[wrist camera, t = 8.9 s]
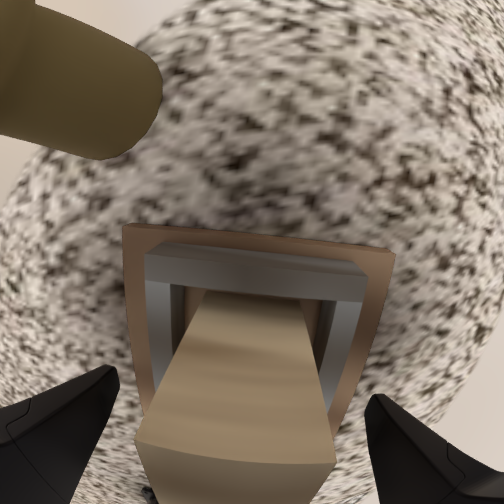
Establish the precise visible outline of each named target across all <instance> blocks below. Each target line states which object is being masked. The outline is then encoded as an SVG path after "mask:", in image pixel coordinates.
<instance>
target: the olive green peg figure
mask: <svg viewBox="0 0 504 504" xmlns="http://www.w3.org/2000/svg"><path fill="white" fill-rule="evenodd" d="M161 99H162V77H161V74H160V71H159V69H158V66H157V64H156V63H155V62H154V61H153V60H152V59H151V58H150V57H149V56H148V55H147V54H145V53H143V52H142V51H140V50H138V49H136V48H134V47H132V46H131V45H129V44H127V43H125V42H123V41H121V40H119V39H117V38H115V37H113V36H111V35H109V34H107V33H105V32H103V31H101V30H99V29H96V28H94V27H92V26H90V25H88V24H85V23H83V22H81V21H78V20H76V19H74V18H71V17H69V16H66V15H64V14H61V13H59V12H56V11H54V10H51V9H48V8H45V7H42V6H39V5H37V4H35V0H0V135H4V136H9V137H12V138H16V139H20V140H24V141H28V142H31V143H35V144H39V145H42V146H46V147H49V148H53V149H57V150H60V151H64V152H67V153H70V154H74V155H77V156H81V157H84V158H88V159H95V160H105V159H109V158H114V157H117V156H119V155H120V154H122V153H124V152H125V151H127V150H129V149H130V148H132V147H133V146H134V145H135V144H136V143H137V142H138V141H139V140H140V139H141V138H142V137H143V136H144V135H145V134H146V133H147V131H148V129H149V128H150V126H151V124H152V122H153V121H154V119H155V118H156V116H157V113H158V109H159V106H160V103H161Z"/></svg>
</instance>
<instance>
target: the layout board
mask: <svg viewBox="0 0 504 504" xmlns="http://www.w3.org/2000/svg"><path fill="white" fill-rule="evenodd" d="M122 245H123V272H124V288H125V301H126V312H127V321H128V330H129V338H130V345H131V352H132V358H133V365H134V370H135V376H136V382H137V387H138V392H139V397H140V401H141V406H142V410H143V415H144V416H145V414H146V412H147V410H148V408H149V406H150V404H151V401H152V399H153V397H154V395H155V393H156V391H157V389H158V387H159V385H160V383H161V381H162V379H163V377H164V375H165V373H166V371H167V369H168V367H169V365H170V362H171V360H172V358H173V356H174V354H175V352H176V350H177V348H178V346H179V344H180V342H181V340H182V338H183V336H184V334H185V332H186V330H187V329H188V327H189V325H190V323H191V321H192V319H193V317H194V315H195V313H196V311H197V309H198V307H199V305H200V303H201V301H202V299H203V297H204V295H205V293H206V291H211V292H219V293H227V294H235V295H244V296H253V297H263V298H273V299H283V300H293V301H300V304H301V308H302V312H303V315H304V319H305V323H306V327H307V331H308V335H309V339H310V343H311V347H312V351H313V355H314V360H315V364H316V368H317V372H318V376H319V381H320V385H321V389H322V394H323V398H324V402H325V407H326V411H327V416H328V421H329V425H330V430H331V435H332V439H334V437H335V435H336V433H337V431H338V429H339V427H340V424H341V422H342V420H343V418H344V416H345V413H346V411H347V409H348V406H349V404H350V402H351V399H352V397H353V395H354V392H355V390H356V387H357V385H358V382H359V379H360V377H361V374H362V371H363V369H364V366H365V363H366V360H367V358H368V355H369V352H370V349H371V346H372V343H373V340H374V337H375V333H376V330H377V327H378V324H379V320H380V317H381V313H382V310H383V306H384V302H385V299H386V295H387V291H388V287H389V283H390V279H391V274H392V270H393V265H394V261H395V256H396V254H394V253H393V252H391V251H390V250H388V249H385V248H376V247H368V246H360V245H351V244H343V243H334V242H325V241H317V240H308V239H298V238H289V237H280V236H270V235H260V234H250V233H240V232H230V231H220V230H209V229H198V228H187V227H175V226H164V225H152V224H140V223H130V224H128V225H125V226H122Z"/></svg>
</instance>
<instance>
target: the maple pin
mask: <svg viewBox="0 0 504 504" xmlns="http://www.w3.org/2000/svg"><path fill="white" fill-rule="evenodd" d="M133 440H134V443H135V446H136V449H137V451H138V454H139V457H140V460H141V462H142V465H143V468H144V470H145V473H146V475H147V478H148V480H149V482H150V485H151V487H152V489H153V492H154V494H155V496H156V498H157V500H158V503H159V504H309V503H310V502H311V500H312V499H313V498H314V496H315V495H316V493H317V492H318V491H319V489H320V488H321V486H322V485H323V483H324V482H325V480H326V479H327V477H328V476H329V474H330V473H331V471H332V470H333V468H334V467H335V465H336V463H337V459H336V454H335V449H334V444H333V439H332V435H331V430H330V425H329V421H328V416H327V411H326V407H325V402H324V398H323V394H322V389H321V385H320V381H319V376H318V372H317V368H316V364H315V360H314V355H313V351H312V347H311V343H310V339H309V335H308V331H307V327H306V323H305V319H304V315H303V312H302V308H301V304H300V301H293V300H283V299H273V298H263V297H253V296H244V295H235V294H227V293H219V292H211V291H206V293H205V295H204V297H203V299H202V301H201V303H200V305H199V307H198V309H197V311H196V313H195V315H194V317H193V319H192V321H191V323H190V325H189V327H188V329H187V330H186V332H185V334H184V336H183V338H182V340H181V342H180V344H179V346H178V348H177V350H176V352H175V354H174V356H173V358H172V360H171V362H170V365H169V367H168V369H167V371H166V373H165V375H164V377H163V379H162V381H161V383H160V385H159V387H158V389H157V391H156V393H155V395H154V397H153V399H152V401H151V404H150V406H149V408H148V410H147V412H146V414H145V416H144V418H143V420H142V422H141V425H140V427H139V429H138V431H137V433H136V435H135V437H134V439H133Z"/></svg>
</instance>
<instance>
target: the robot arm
mask: <svg viewBox="0 0 504 504" xmlns="http://www.w3.org/2000/svg"><path fill="white" fill-rule="evenodd" d="M119 389H120V382H119V377H118V373H117V369H116V368H115V367H114V366H111V365H107V364H105V365H102V366H100V367H98V368H96V369H94V370H91V371H89V372H87V373H85V374H83V375H81V376H78V377H76V378H74V379H72V380H69V381H67V382H65V383H63V384H60V385H58V386H56V387H54V388H51V389H49V390H47V391H44V392H42V393H40V394H37V395H35V396H33V397H32V398H28V399H25V400H23V401H20V402H18V403H15V404H13V405H9V406H6V407H3V408H0V504H70V502H71V499H72V497H73V495H74V492H75V490H76V488H77V485H78V483H79V481H80V479H81V476H82V474H83V472H84V470H85V468H86V466H87V463H88V461H89V459H90V457H91V455H92V453H93V451H94V449H95V447H96V444H97V442H98V440H99V438H100V436H101V434H102V432H103V430H104V428H105V426H106V424H107V422H108V419H109V417H110V414H111V411H112V408H113V405H114V403H115V400H116V397H117V395H118V392H119ZM364 417H365V425H366V434H367V443H368V450H369V455H370V459H371V464H372V468H373V473H374V477H375V482H376V487H377V491H378V496H379V502H380V504H504V472H499V471H496V470H494V469H492V468H490V467H488V466H486V465H485V464H483V463H481V462H479V461H477V460H475V459H473V458H472V457H470V456H468V455H467V454H465V453H463V452H462V451H460V450H459V449H457V448H456V447H455V446H453V445H452V444H450V443H449V442H448V443H447V441H446V440H445V439H443V438H442V437H441V436H439V435H438V434H437V433H435V432H434V431H432V430H431V429H430V428H428V427H427V426H426V425H424V424H423V423H422V422H420V421H419V420H418V419H416V418H415V417H414V416H412V415H411V414H410V413H408V412H407V411H406V410H404V409H403V408H402V407H400V406H399V405H398V404H397V403H395V402H394V401H393V400H391V399H390V398H389V397H387V396H386V395H385V394H373V395H372V396H371V398H370V400H369V402H368V404H367V407H366V409H365V412H364ZM141 492H142V493H143V495H144V497H145V499H146V501H147V502H148V504H159V503H158V500H157V498H156V496H155V494H154V492H153V490H150V489H147V488H142V490H141Z"/></svg>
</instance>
